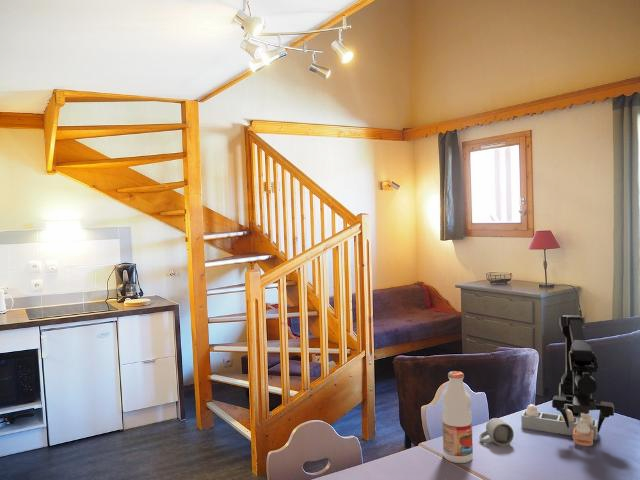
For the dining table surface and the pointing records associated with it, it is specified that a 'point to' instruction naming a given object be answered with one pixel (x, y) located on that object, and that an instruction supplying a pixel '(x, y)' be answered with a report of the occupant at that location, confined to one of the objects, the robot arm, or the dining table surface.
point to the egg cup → (583, 438)
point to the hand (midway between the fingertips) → (583, 429)
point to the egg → (583, 427)
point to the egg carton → (554, 421)
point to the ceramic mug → (497, 432)
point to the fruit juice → (457, 421)
